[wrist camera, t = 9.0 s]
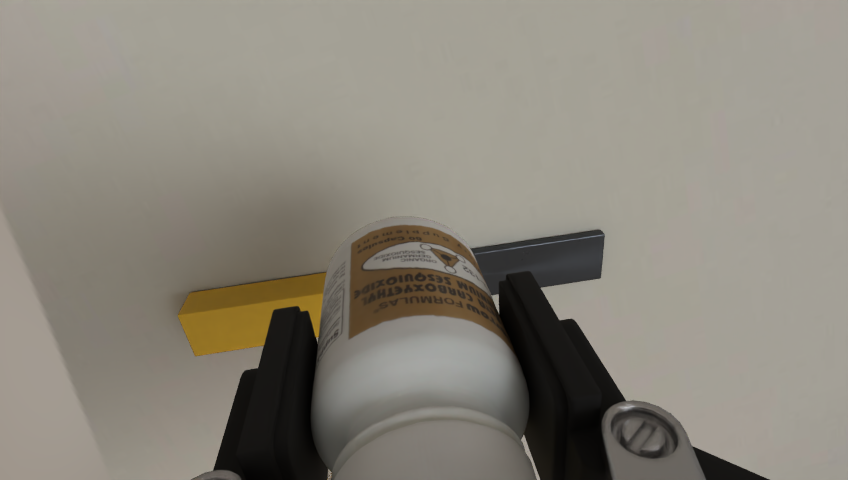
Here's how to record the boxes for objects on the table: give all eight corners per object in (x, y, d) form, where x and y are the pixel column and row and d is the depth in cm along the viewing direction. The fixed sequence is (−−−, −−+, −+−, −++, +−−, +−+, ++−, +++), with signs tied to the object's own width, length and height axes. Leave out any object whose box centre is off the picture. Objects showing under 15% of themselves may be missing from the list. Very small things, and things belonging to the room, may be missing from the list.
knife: (206, 333, 24) (195, 358, 22) (188, 290, 23) (175, 313, 21) (597, 273, 25) (612, 293, 24) (600, 229, 24) (617, 246, 22)
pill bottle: (500, 233, 14) (638, 482, 7) (445, 350, 15) (513, 639, 9) (348, 192, 13) (337, 442, 6) (309, 323, 14) (264, 631, 8)
